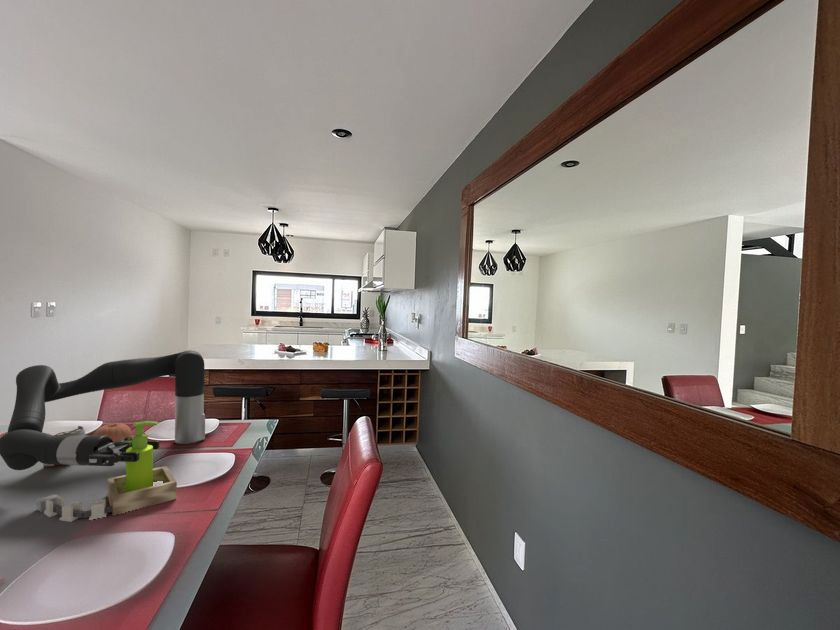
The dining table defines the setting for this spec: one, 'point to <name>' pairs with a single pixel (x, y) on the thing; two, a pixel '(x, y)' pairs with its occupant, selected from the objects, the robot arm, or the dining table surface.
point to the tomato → (114, 431)
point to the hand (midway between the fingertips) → (148, 450)
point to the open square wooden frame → (141, 492)
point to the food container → (70, 433)
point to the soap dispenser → (140, 460)
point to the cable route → (71, 508)
